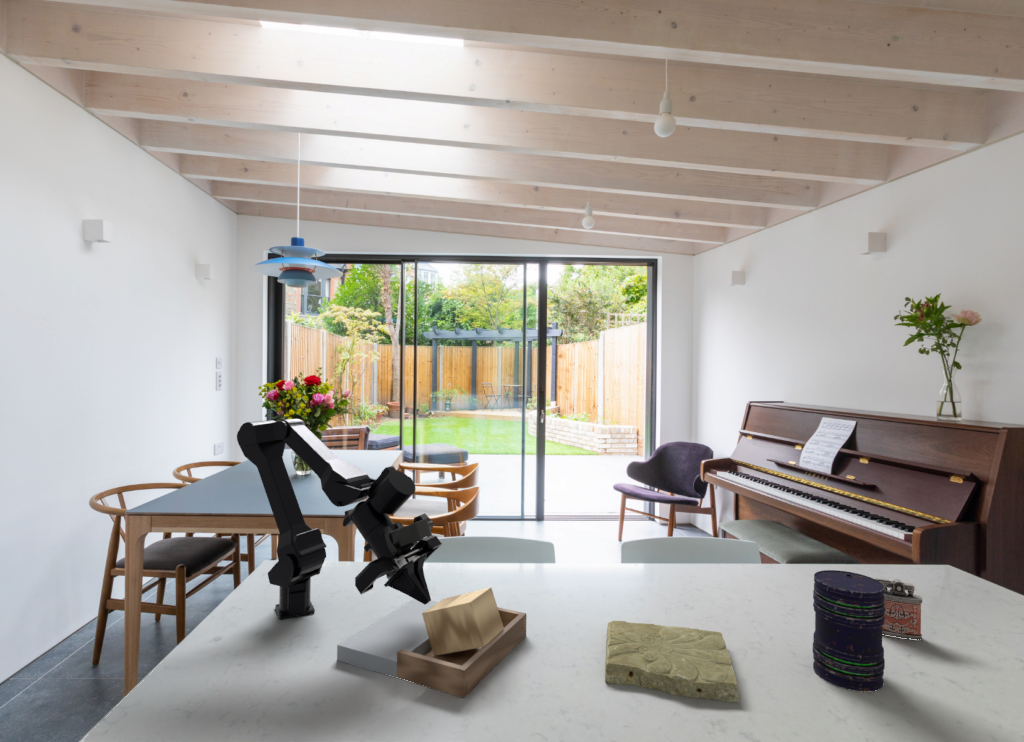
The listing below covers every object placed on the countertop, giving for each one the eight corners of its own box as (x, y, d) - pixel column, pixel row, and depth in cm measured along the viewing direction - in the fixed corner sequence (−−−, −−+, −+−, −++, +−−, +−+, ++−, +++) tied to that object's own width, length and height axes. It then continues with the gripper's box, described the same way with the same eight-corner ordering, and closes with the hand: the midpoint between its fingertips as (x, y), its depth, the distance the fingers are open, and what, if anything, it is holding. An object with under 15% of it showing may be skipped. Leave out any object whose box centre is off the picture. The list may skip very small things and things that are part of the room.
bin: (396, 678, 88) (397, 652, 88) (468, 622, 107) (468, 601, 108) (464, 698, 82) (464, 670, 82) (526, 635, 102) (526, 613, 102)
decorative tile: (607, 635, 104) (607, 615, 104) (722, 647, 100) (722, 626, 100) (600, 691, 86) (601, 667, 86) (742, 708, 81) (742, 683, 82)
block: (421, 613, 95) (470, 602, 91) (444, 598, 101) (491, 587, 97) (434, 655, 94) (484, 646, 90) (456, 638, 100) (504, 628, 96)
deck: (337, 660, 93) (337, 644, 93) (415, 610, 113) (416, 597, 113) (396, 678, 88) (397, 661, 88) (468, 622, 107) (468, 609, 108)
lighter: (919, 635, 104) (920, 580, 104) (924, 643, 101) (924, 587, 101) (868, 626, 108) (868, 573, 108) (870, 634, 105) (871, 579, 105)
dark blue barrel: (885, 699, 83) (886, 597, 83) (809, 680, 88) (810, 584, 89) (883, 670, 92) (884, 577, 92) (814, 653, 97) (815, 565, 97)
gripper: (370, 513, 92) (425, 594, 87) (434, 492, 109) (483, 559, 104) (332, 554, 96) (383, 634, 91) (399, 528, 112) (446, 594, 108)
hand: (428, 602), depth 98 cm, fingers closed
